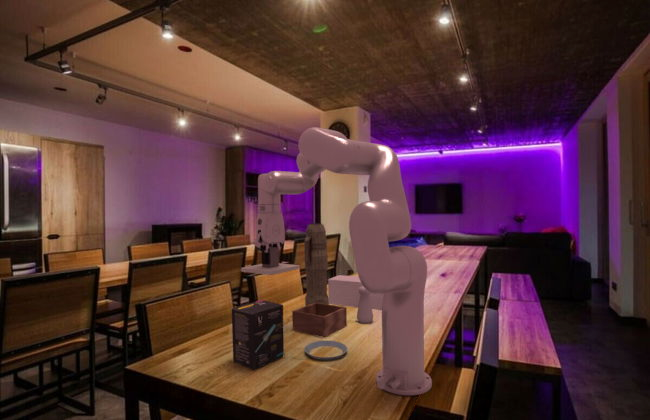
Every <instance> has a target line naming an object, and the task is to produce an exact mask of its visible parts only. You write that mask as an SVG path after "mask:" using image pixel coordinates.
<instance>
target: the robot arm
mask: <svg viewBox="0 0 650 420" xmlns="http://www.w3.org/2000/svg"><path fill="white" fill-rule="evenodd" d="M297 146H298V151H299V153H298V154H297V157H296V165H297V168H298V170H299V171H298V172H297V171H288V170H287V171H286V170H285V171H283V170H282V171H281V170H273V171H272V170H271V171H269V172H268V173H261V174H259V175H258V178H257V187H258V188H257V195H258V198H257V199H258V206H257V210H258V214H257V217H256V225H255V226H256V228H255V241H254V243H253V244H254V246H255V247H256V248H257V249H259V252H260V253H261V264H270V256H269V252H268V249H269V247H270V244H271V247H279V252H280V251H281V247H282V246H283V244H284V243H285V242H286V240H285V239H286V233H285V232H286V231H285V221H284V216H283V213H281V212H282V211H281V209H282V208H281V195H301V194H304V193H306V192H307V191H309V190H310V189H312V188H313V187H315V186H316V184H317V182H318V180H319V176H320V175H321V173H323V172H325V171H329V172H332V173H334V174H338V175H355V176H356V175H357V176H368V180H367V185H366V186H367V193H368V194H367V195H368V199H369V200H367V201H362V202H360V203H359V204H357V205H356V206H355V207H354V208H353V210H351V213H350V216H349V221H348V229H349V237H350V242H351V247H352V252H353V258H354V262H355V268H356V273H357V275H358V276H357V277H359V279H360V281H361V283H362V285H363V286H364V288H365V289H366V290H368V291H369V292H371V293H374V294H383V293H384V296H383V301H382V310H381V345H382V346H381V347H382V348H381V350H382V355H381V356H382V368H381V369H380V370H378V371H377V373H376V374H375V382H376V386H377V388H378V389H379V390H384V391H386V392H389V393H391V394H395V395H400V396H418V395H423V394H424V393H425V394H426V393H427V392H428V391H430V389H432V385H433V384H432V383H433V380H432V378H431V376H430V375H429V374H428V373H427V372H425V323H424V321H425V319H424V317H425V314H424V313H425V306H424V305H425V291H426V283H427V277H428V265H427V264H428V263H427V259H426V258H425V256H424V254H423V253H422V252H421V251H420V250H419V249H417V248H416V247H413V246H407V245H398V246H391V247H390V245H389V242H396V241H400V240H403V239H405V238H406V237H408V235H409V234H410V233H411V229H412V219H411V214H410V211H409V206H408V201H407V198H406V197H407V196H406V193H405V188H404V184H403V180H402V174H401V168H400V167H401V166H400V162H399V158H398V156H397V153H396V152H395V151H394V150H393V149H392V148H391V147H389V146H387V145H385V144H380V143H373V142H368V141H361V140H354V139H349V138H347V137H346V135H344V134H343V133H342V132H340V131H337V130H333V129H328V128H327V129H326V128H322V127H318V126H317V127H309V128H307V129H306V130H305V131H303V132H302V134H301V135H300V137H299V140H298V145H297Z"/></svg>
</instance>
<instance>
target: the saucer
mask: <svg viewBox="0 0 650 420" xmlns="http://www.w3.org/2000/svg"><path fill="white" fill-rule="evenodd" d="M321 347H331V348H336V349H339V350H340V351H341V352H342V353H341V354H340V355H336V356H330V357H328V356H327V357H323V356H321V357H320V356H316V355H311V354H310V352H311V351H312V350H314V349H317V348H321ZM347 351H348V347H347V345H346V344H343V343H341V342H339V341H334V340H317V341H312V342H310V343H309V344H308V343H307V344H306V346H305V347H304V352H305V353H306V354H307V355H308V356H309V357H311V358H312V359H316V360H318V361H321V360H322V361H330V360H332V361H333V360H336V359H339V358H341V357H342V356H344V355H345V354H346V352H347Z"/></svg>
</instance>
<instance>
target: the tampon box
mask: <svg viewBox="0 0 650 420" xmlns="http://www.w3.org/2000/svg"><path fill="white" fill-rule="evenodd" d="M231 329H232V335H231V336H232V361H233V362H234V363H237V364H239V365H241V366H244V367H246V368H248V369H250V370H253V371H257V370H258V369H260V368H263V367H265V366H267V365H269V364H271V363H273V362H275V361H277V360H280V359H282V358H284V357H285V355H284V353H285V351H284V350H285V349H284V346H285V345H284V340H285V339H284V305H283V304H282V303H276V302H273V301H268V300H265V299H261V300H257V301H254V302H253V301H252V302H250V303H247V304H242V305H238V306H235V307H232V308H231Z"/></svg>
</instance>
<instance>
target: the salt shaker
mask: <svg viewBox="0 0 650 420" xmlns="http://www.w3.org/2000/svg"><path fill="white" fill-rule="evenodd" d="M358 291H359V293H360V299H359V306H358V307H357V313H356V320H357V321H358V323H361V324H371V323H372V322H373V320H374V313H373V309H372V308H371V303H370V297H369V294H370V293H371V292H369V291H368V290H366V289H365V288H364V286H361V287H359V290H358Z"/></svg>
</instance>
